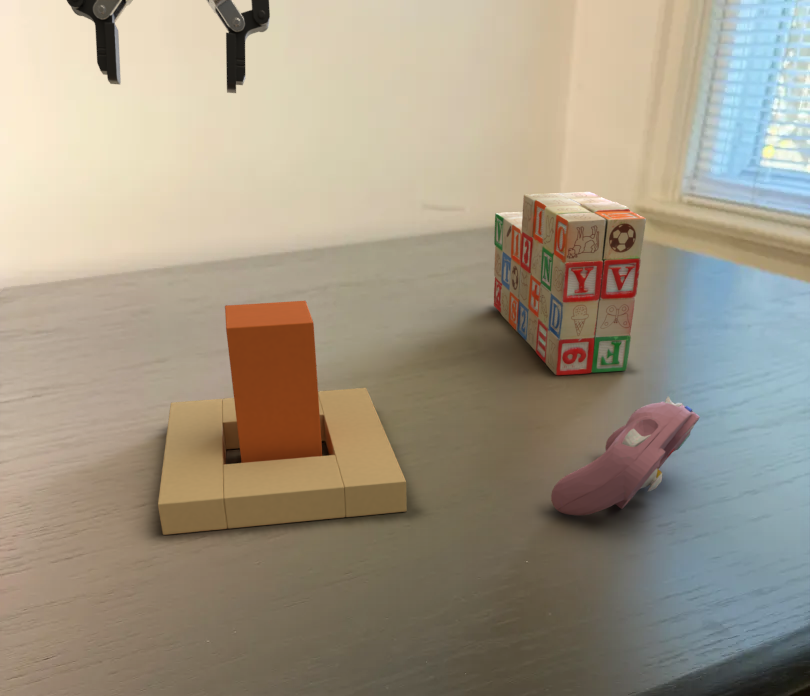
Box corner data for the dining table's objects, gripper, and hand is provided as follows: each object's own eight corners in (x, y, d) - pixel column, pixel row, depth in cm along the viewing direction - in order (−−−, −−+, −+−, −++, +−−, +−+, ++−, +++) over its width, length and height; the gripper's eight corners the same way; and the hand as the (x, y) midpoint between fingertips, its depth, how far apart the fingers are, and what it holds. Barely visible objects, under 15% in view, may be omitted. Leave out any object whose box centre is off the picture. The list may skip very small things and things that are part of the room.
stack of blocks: (491, 307, 91) (495, 178, 84) (550, 304, 91) (559, 176, 85) (556, 376, 72) (568, 218, 66) (629, 371, 73) (647, 214, 67)
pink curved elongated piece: (602, 554, 51) (671, 466, 46) (539, 504, 51) (601, 414, 47) (660, 488, 58) (725, 407, 53) (604, 446, 59) (663, 362, 54)
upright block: (244, 485, 55) (226, 327, 50) (241, 453, 60) (224, 305, 55) (323, 478, 56) (313, 322, 51) (316, 447, 60) (305, 300, 55)
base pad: (162, 535, 50) (157, 504, 49) (174, 428, 64) (170, 402, 63) (406, 511, 52) (406, 481, 51) (367, 413, 66) (366, 387, 65)
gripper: (267, -134, 66) (267, 103, 71) (67, -159, 64) (81, 88, 69) (270, -182, 59) (271, 85, 64) (46, -212, 57) (63, 68, 62)
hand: (173, 87), depth 66 cm, fingers open, 8 cm apart
